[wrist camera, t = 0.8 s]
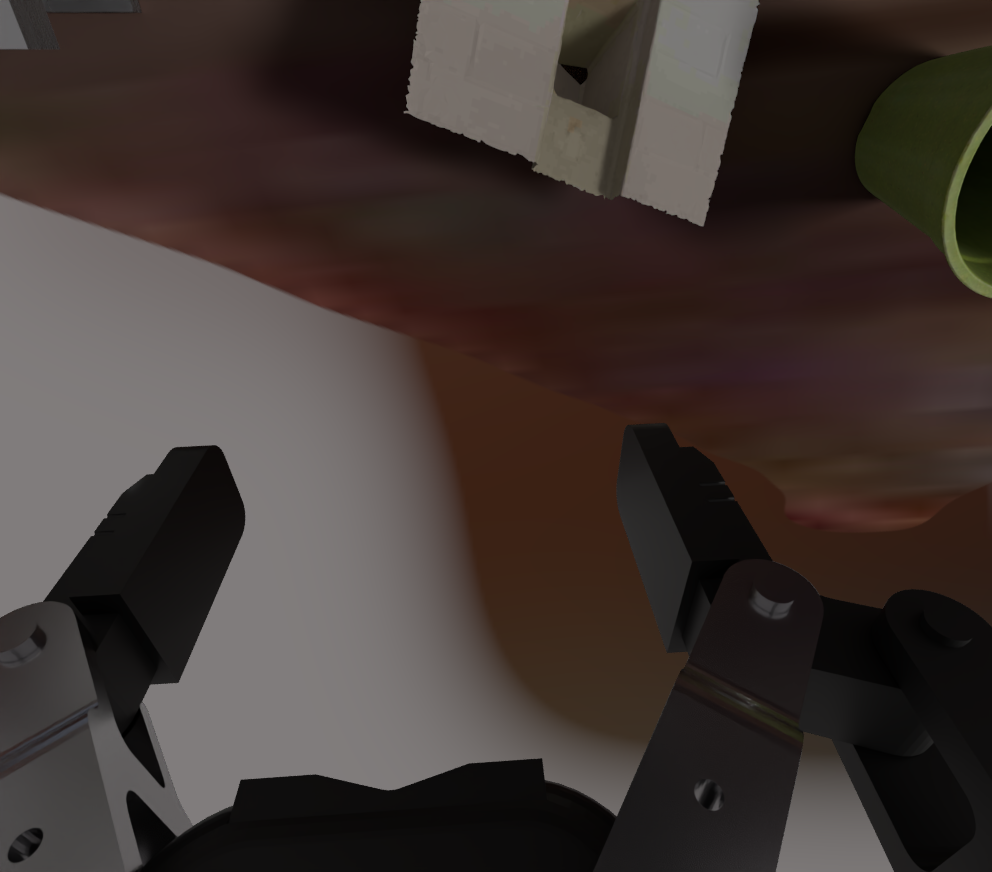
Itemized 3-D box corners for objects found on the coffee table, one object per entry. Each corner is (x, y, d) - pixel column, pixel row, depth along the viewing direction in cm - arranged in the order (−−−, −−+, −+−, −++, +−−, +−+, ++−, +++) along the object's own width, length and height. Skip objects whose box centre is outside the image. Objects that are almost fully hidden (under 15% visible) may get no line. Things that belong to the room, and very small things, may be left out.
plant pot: (947, -55, 27) (1199, -110, 18) (1065, 93, 31) (1320, 111, 22) (767, 169, 33) (889, 215, 23) (887, 271, 37) (1033, 344, 28)
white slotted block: (404, -95, 28) (363, 177, 26) (456, -325, 20) (403, 44, 18) (665, 36, 34) (647, 266, 32) (786, -101, 26) (771, 195, 24)
